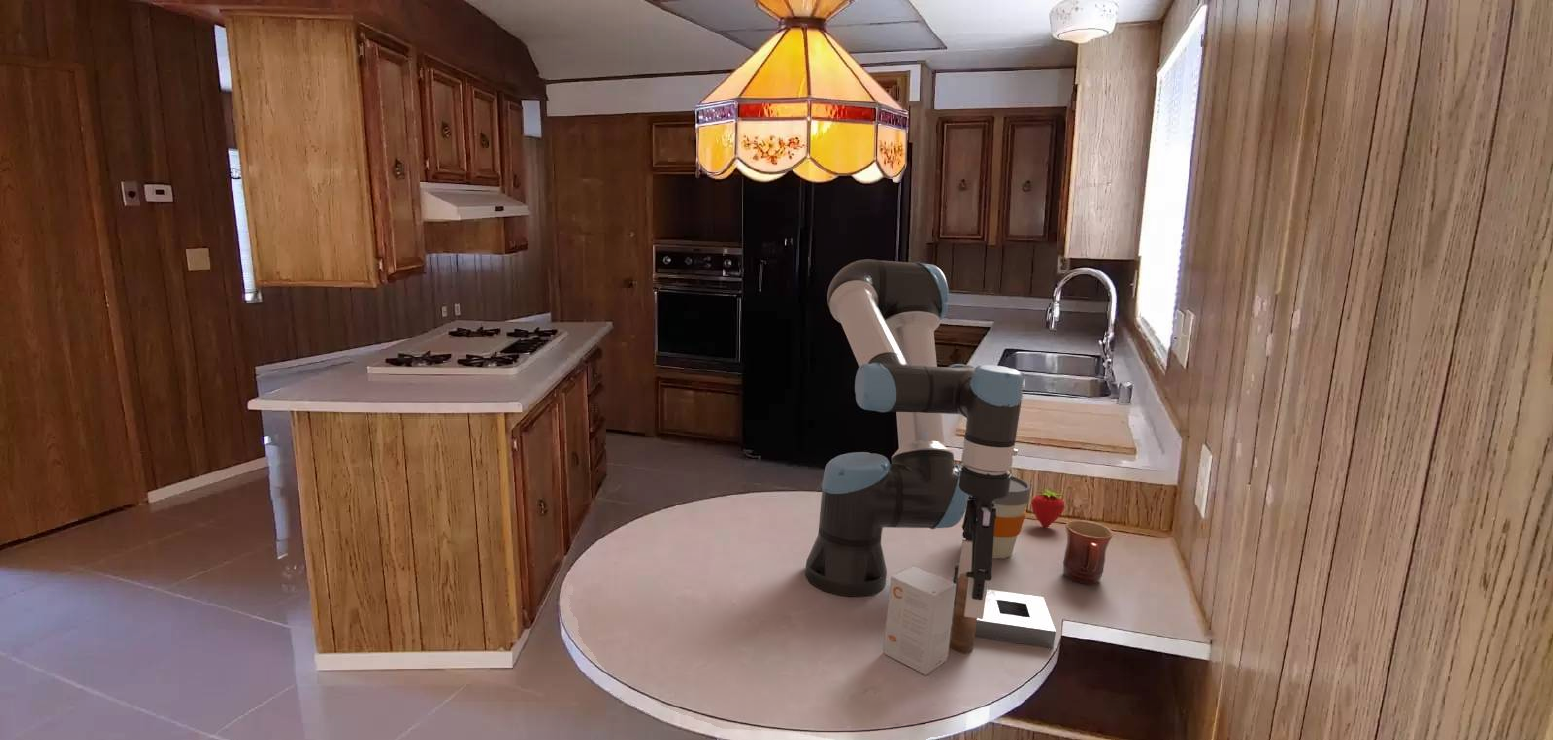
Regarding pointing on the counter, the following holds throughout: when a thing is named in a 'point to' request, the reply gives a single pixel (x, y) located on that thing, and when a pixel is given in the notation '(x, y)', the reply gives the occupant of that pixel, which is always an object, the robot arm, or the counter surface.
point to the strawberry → (1047, 507)
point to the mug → (1085, 551)
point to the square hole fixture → (1014, 618)
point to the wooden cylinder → (962, 621)
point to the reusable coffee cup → (1009, 517)
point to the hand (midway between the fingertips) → (969, 596)
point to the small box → (919, 619)
